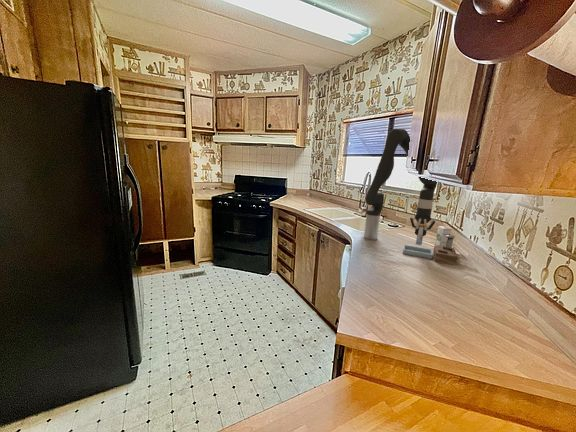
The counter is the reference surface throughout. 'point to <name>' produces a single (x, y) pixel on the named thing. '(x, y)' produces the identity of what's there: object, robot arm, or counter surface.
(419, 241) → the pin
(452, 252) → the wooden socket block
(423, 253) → the tray
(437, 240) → the syrup box
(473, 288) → the counter surface
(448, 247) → the pin
